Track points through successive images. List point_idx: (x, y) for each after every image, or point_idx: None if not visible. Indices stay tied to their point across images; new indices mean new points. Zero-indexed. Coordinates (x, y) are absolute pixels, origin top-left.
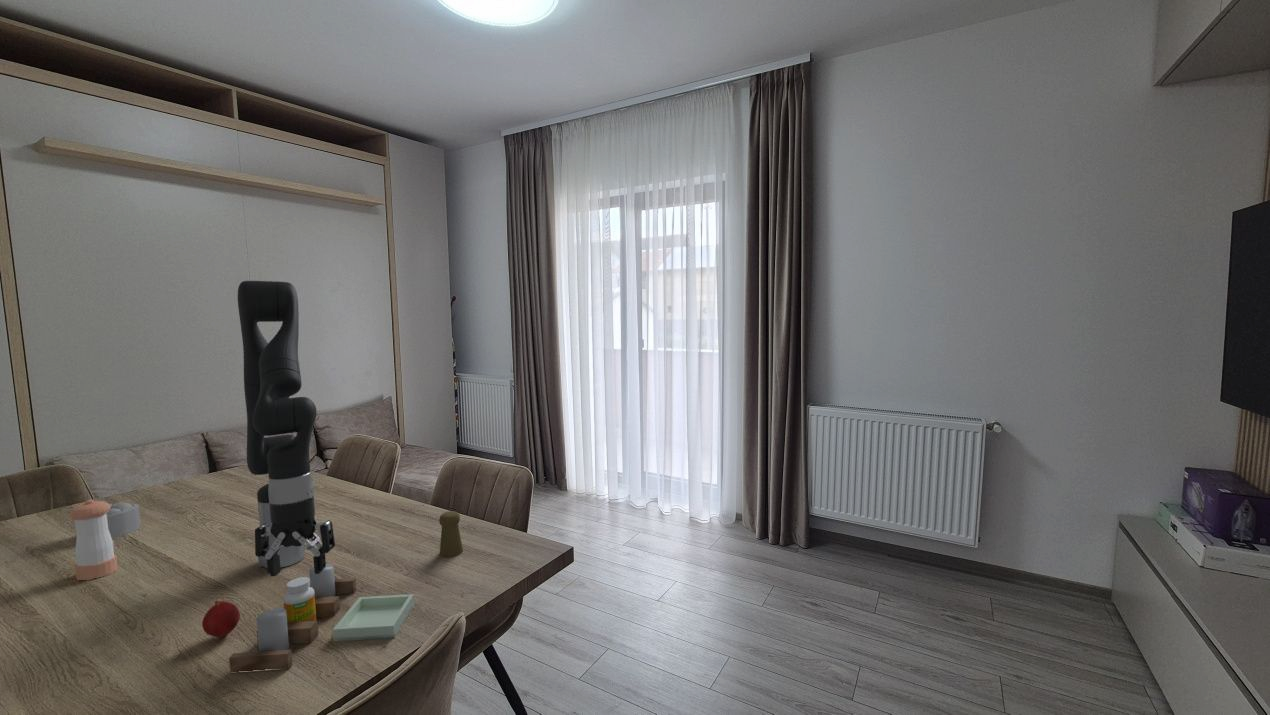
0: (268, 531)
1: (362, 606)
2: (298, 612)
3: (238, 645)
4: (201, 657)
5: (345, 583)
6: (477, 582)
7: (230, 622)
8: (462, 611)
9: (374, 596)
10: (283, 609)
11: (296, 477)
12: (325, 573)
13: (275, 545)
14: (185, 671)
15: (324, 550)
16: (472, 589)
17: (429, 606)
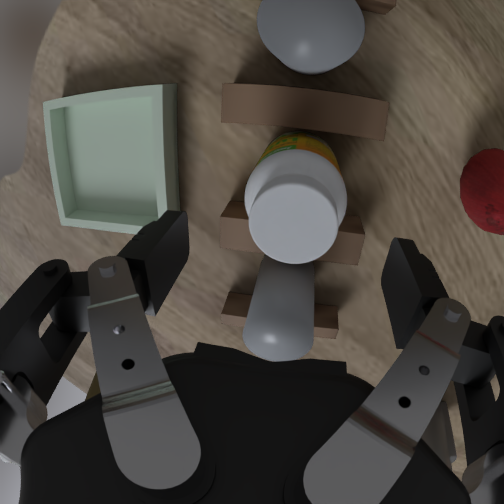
0: (481, 493)
1: None
2: (282, 144)
3: (429, 120)
4: (485, 98)
5: (242, 312)
6: (28, 265)
7: (474, 164)
8: (6, 179)
9: (134, 233)
10: (282, 57)
11: None
12: (255, 313)
13: (421, 375)
14: (489, 53)
15: (52, 267)
16: (23, 246)
17: (51, 203)
